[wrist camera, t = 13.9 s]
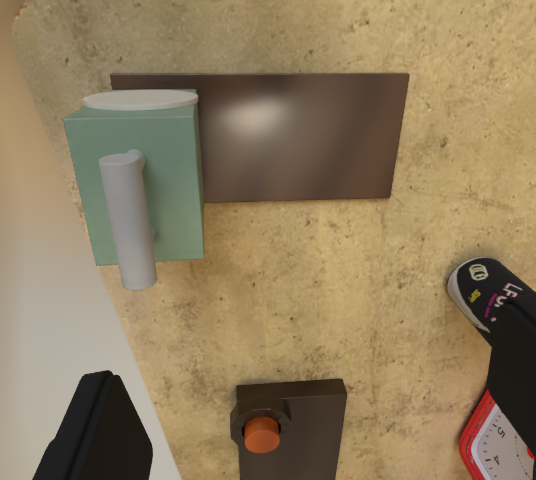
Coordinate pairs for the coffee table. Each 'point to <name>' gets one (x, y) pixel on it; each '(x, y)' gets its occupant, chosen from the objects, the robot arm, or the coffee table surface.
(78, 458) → the robot arm
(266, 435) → the button
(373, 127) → the clock stand
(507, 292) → the beverage can
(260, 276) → the coffee table surface
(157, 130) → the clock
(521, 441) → the alarm clock
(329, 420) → the button block
